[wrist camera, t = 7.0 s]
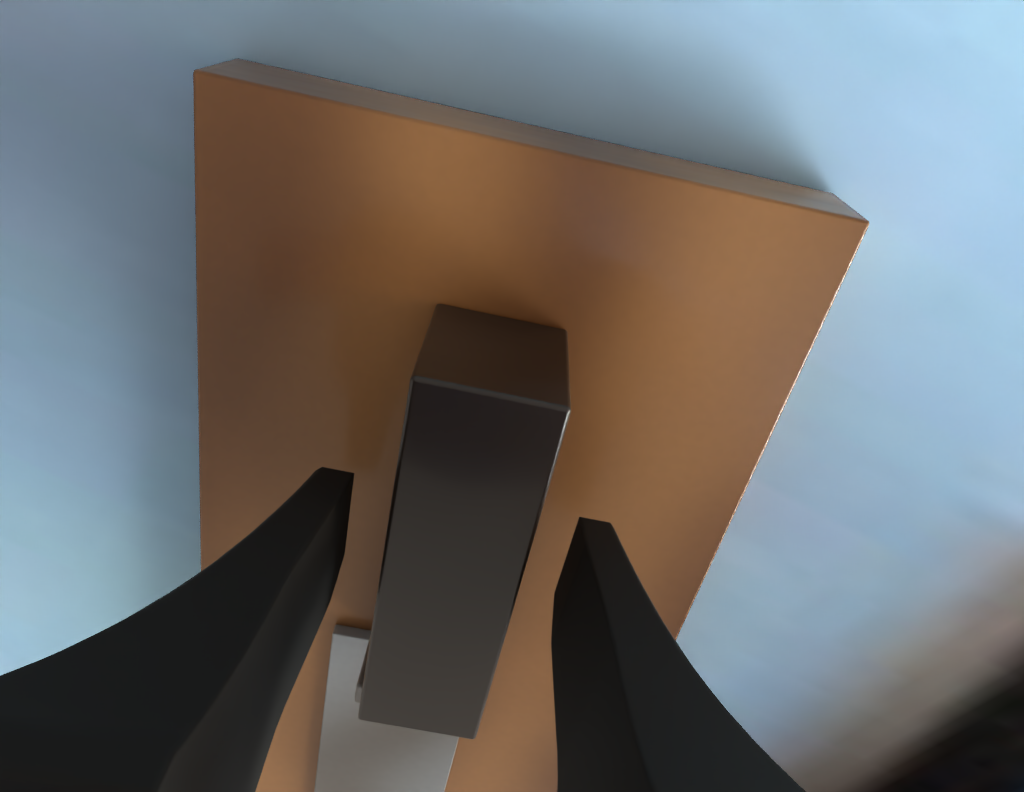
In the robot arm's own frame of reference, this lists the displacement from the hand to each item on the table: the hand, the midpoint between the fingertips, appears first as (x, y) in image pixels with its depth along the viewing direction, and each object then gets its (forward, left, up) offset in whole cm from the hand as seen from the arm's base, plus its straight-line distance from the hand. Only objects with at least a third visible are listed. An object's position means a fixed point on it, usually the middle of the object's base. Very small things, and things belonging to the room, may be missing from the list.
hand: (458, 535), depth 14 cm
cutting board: (0, +6, -3) cm, 7 cm away
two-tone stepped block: (+1, +4, -1) cm, 4 cm away
